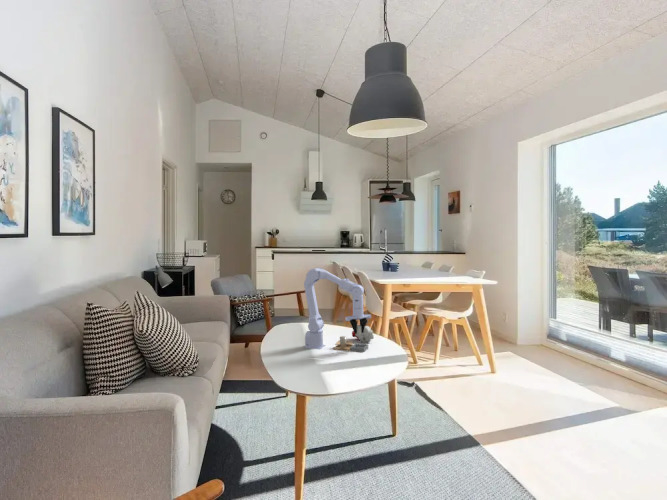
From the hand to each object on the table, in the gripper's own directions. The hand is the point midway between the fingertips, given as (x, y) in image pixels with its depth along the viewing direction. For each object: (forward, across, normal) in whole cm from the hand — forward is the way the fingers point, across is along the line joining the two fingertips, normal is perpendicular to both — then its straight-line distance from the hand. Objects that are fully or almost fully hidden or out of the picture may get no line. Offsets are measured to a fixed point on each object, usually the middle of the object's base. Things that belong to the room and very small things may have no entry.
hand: (358, 332), depth 230 cm
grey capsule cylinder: (+9, -6, +8) cm, 14 cm away
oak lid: (+10, -2, +15) cm, 18 cm away
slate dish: (+10, 0, 0) cm, 10 cm away
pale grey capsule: (+2, 0, 0) cm, 2 cm away
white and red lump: (+10, +11, +17) cm, 22 cm away
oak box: (+10, -6, +6) cm, 12 cm away
